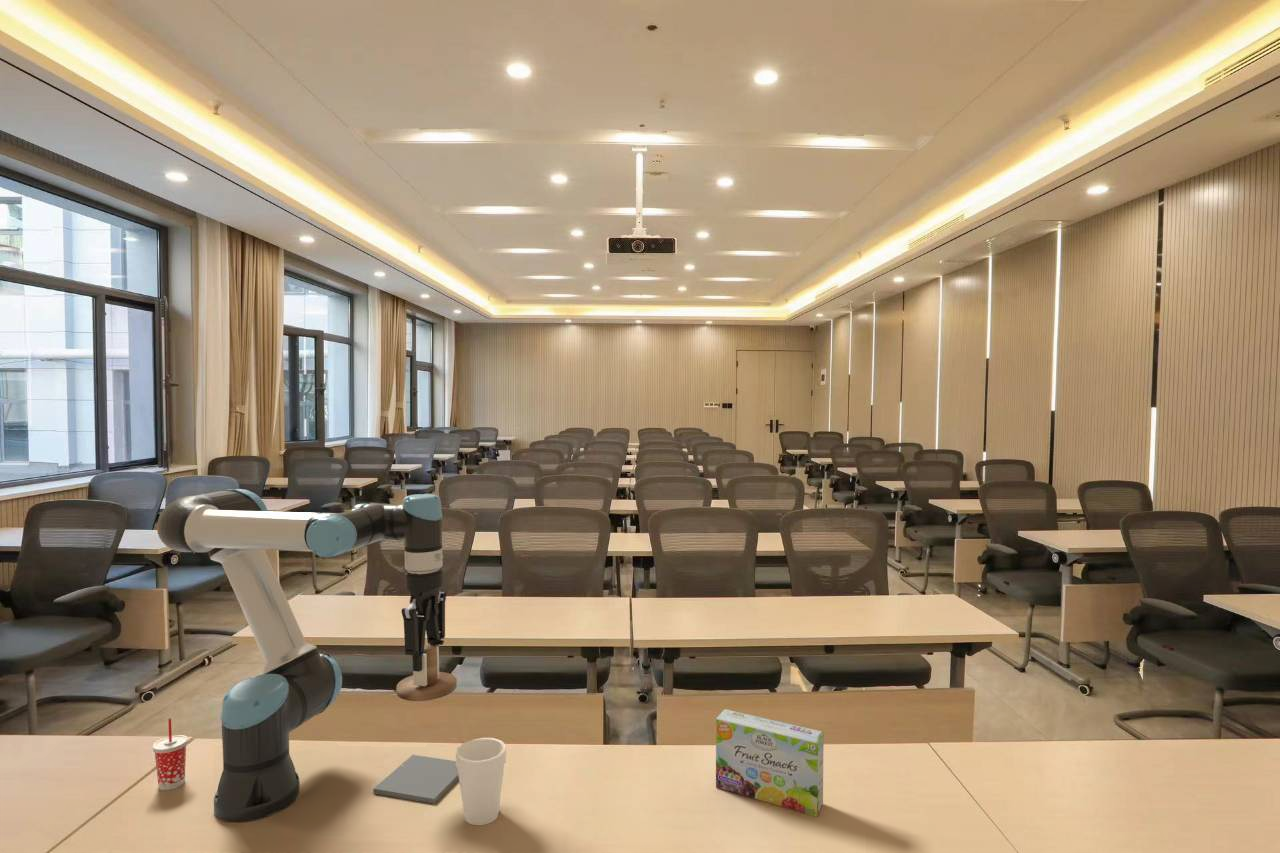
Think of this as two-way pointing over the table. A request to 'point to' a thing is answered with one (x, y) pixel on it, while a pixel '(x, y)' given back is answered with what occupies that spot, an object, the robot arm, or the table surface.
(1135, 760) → the table surface
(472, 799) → the foam cup
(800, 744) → the snack box
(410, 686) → the lid
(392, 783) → the mat
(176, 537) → the robot arm
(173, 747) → the beverage cup
